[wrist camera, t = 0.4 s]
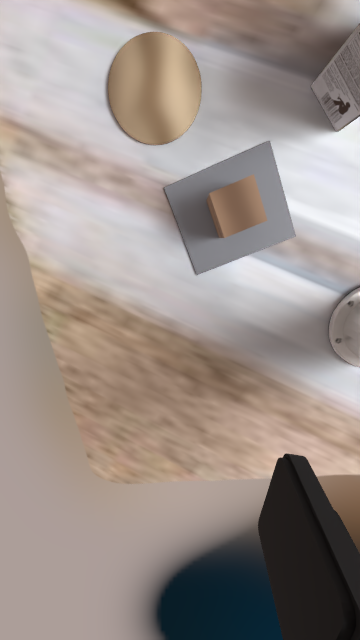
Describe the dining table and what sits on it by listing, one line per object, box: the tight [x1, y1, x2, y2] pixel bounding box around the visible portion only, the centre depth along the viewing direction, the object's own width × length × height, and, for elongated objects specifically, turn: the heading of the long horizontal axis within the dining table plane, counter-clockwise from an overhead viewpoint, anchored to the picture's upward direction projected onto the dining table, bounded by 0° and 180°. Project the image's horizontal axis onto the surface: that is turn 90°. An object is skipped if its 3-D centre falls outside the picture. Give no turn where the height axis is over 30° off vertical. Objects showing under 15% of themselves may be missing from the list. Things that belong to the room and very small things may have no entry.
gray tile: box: [164, 141, 296, 275], centre depth 36 cm, size 14×12×1 cm
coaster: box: [108, 32, 201, 145], centre depth 33 cm, size 11×11×1 cm
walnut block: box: [206, 174, 267, 238], centre depth 33 cm, size 5×5×6 cm
